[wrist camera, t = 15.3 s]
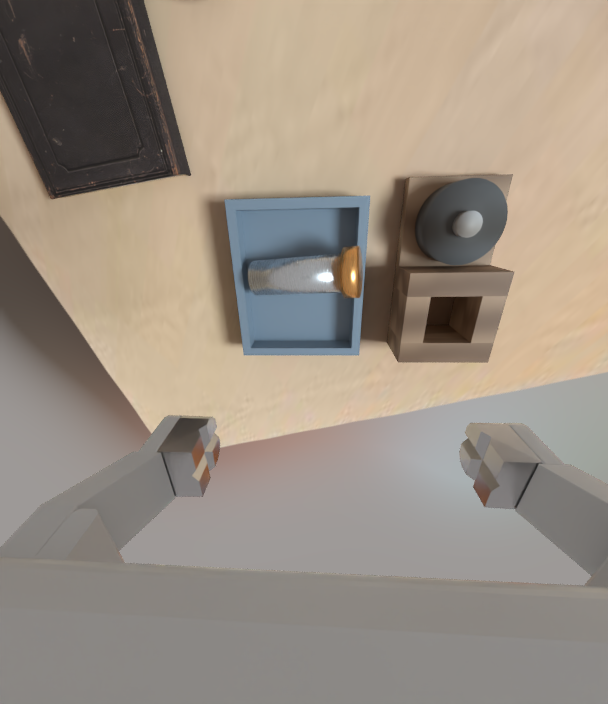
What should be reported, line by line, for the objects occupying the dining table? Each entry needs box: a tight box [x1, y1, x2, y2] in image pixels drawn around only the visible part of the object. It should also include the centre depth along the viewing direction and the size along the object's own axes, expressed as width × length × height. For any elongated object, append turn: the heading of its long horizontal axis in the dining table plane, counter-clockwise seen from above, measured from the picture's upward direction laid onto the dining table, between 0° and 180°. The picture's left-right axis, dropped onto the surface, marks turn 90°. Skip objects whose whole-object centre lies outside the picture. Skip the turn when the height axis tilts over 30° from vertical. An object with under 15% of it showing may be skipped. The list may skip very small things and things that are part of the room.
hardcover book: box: [0, 0, 191, 199], centre depth 27 cm, size 16×23×2 cm
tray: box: [225, 196, 370, 355], centre depth 34 cm, size 18×15×4 cm
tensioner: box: [387, 174, 514, 362], centre depth 32 cm, size 19×10×6 cm, turn 1°
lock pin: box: [248, 246, 363, 298], centre depth 31 cm, size 5×5×12 cm
